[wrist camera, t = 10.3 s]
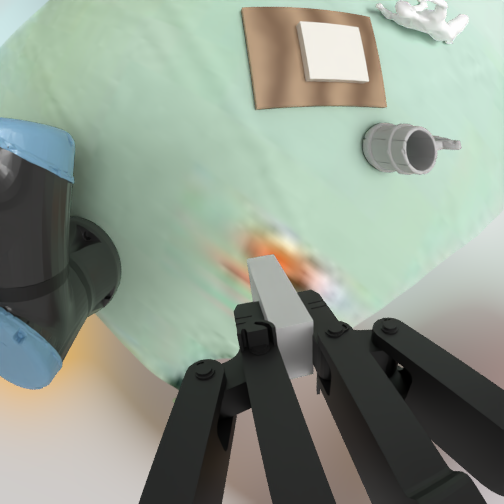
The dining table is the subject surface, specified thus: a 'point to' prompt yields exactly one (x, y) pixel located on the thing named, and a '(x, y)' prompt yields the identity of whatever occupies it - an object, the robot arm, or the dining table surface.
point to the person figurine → (427, 19)
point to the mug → (404, 148)
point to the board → (291, 65)
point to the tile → (332, 53)
